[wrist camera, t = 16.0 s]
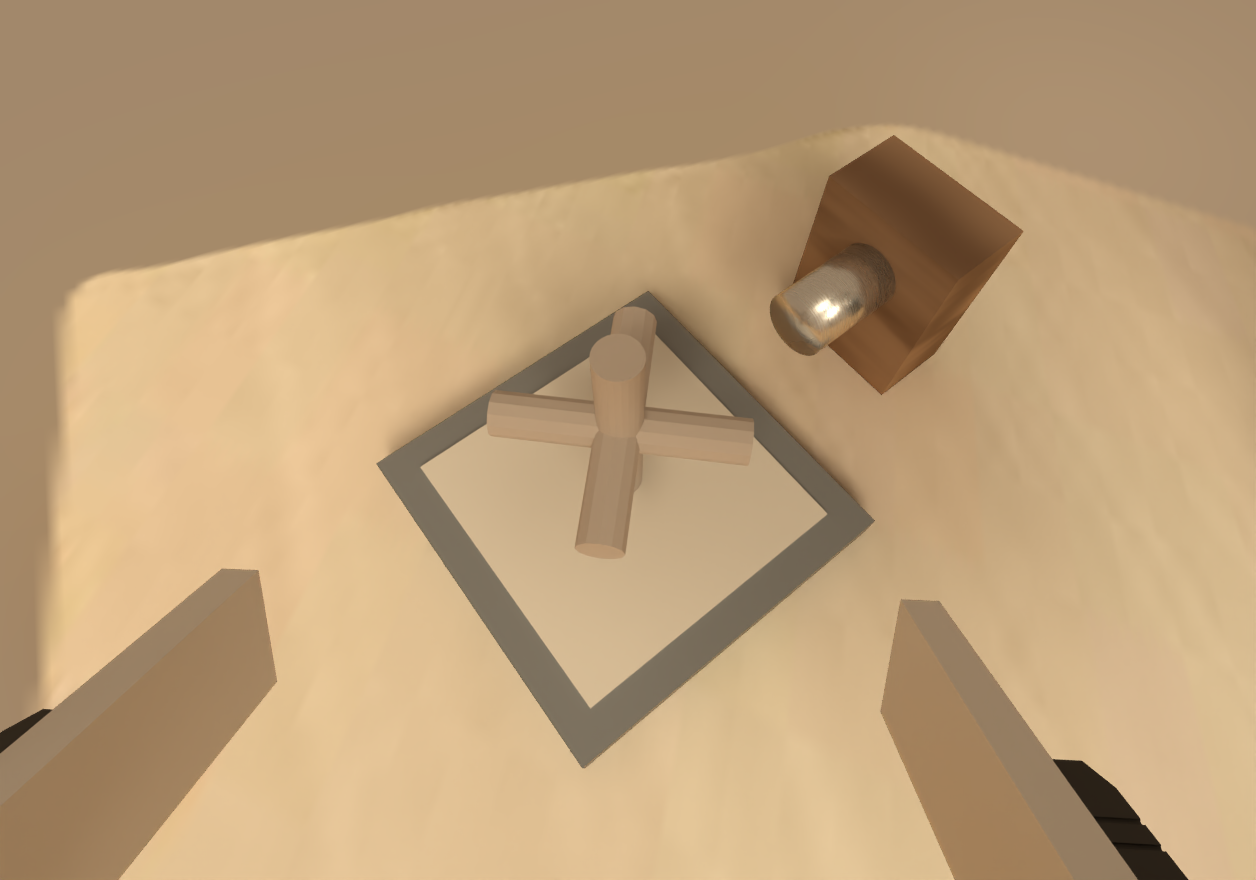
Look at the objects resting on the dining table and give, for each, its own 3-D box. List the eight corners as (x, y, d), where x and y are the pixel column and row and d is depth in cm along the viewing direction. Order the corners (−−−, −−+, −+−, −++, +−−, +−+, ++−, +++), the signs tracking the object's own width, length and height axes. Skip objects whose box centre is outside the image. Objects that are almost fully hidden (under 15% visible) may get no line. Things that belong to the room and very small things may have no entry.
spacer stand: (782, 221, 40) (820, 81, 32) (1003, 413, 34) (1119, 302, 26) (386, 476, 33) (307, 379, 25) (584, 768, 27) (565, 766, 19)
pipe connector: (489, 571, 29) (425, 482, 20) (534, 371, 33) (497, 224, 24) (725, 601, 28) (768, 524, 19) (739, 393, 33) (780, 251, 24)
